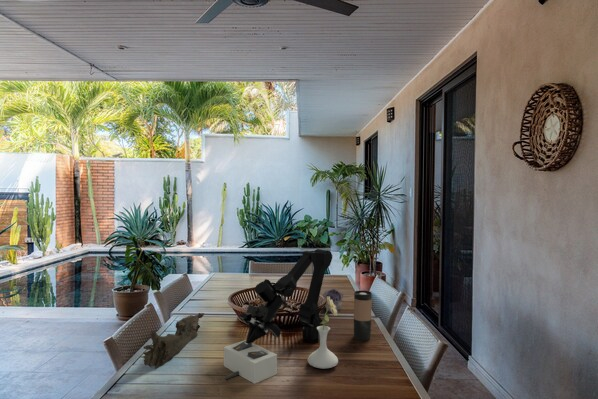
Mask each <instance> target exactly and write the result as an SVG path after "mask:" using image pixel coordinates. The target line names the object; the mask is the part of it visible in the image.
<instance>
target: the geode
mask: <svg viewBox="0 0 598 399" xmlns="http://www.w3.org/2000/svg"><path fill="white" fill-rule="evenodd" d="M322 296H323V298H324V297H325V298H326V299H327V296H328V298H329V297H330V300H331V299H332V300H333V303H334V305H335V306H336V308H335V309H336V310H337V312H338V313H339V312H340V311H341V308H342V302H343V299H344V294H343V293H341V292H339V290H337V289H334V288H332V289H330V290H329V289H326V290H325V291H324V293H323V295H322ZM328 307H329V305H328V302H327V304H326V305H325V307H324V306H323V308H324V309H325V310H326V311H327V309H328ZM327 313H332V312H331V310H330V308H329V309H328V311H327ZM332 314H333V313H332Z"/></svg>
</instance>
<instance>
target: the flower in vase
mask: <svg viewBox="0 0 598 399" xmlns="http://www.w3.org/2000/svg"><path fill="white" fill-rule="evenodd" d="M327 302H328V305H329V307H328V309H329V308H330V310H331V312H332V314H333V316H336V317H337V316H338V314H339V311H338V312H337V310H336V309H335V308H336V306H335V305H334V303H333V300H332V299H331V300H330V297H329V298H328V296H327ZM328 309H327V311H328ZM327 311H326V312H325V313H324V317H323V320H322V322H321V323H320V324H323V326H318V327H317V330H318V331H319V347H318V348H317V349H316V350H314V351H313V352H312V353H310V355H309V356H308V358H307V363H308V364H309V365H310V366H311V367H314V368H317V369H323V370H325V369H330V368H331V369H332V368H334V367H335V366H337V365H338V363H339V359H338V357H337V356H336V354H335V353H334V352H332V351H331V350H329V349H328V347H327V337H328V333H329V331H330V330H331V327H329V326H328V325H327V326H326V325H325V324H327V323H328V322H329V320H330V318H329V315H327V313H328V312H327Z"/></svg>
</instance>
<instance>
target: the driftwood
mask: <svg viewBox="0 0 598 399" xmlns="http://www.w3.org/2000/svg"><path fill="white" fill-rule="evenodd" d="M204 316H205V313H204V312H199V313H198V314H195V315H191V314H190V315H188V316H186V317H184V318H182V319H180V320H178V321H176V323H175V328H176V331H175V333H168V334H166V335H165V336H161V335H158V334H157V333H156V332H155V331H154V330H150V340H152V344H147V345H145V346H143V350H147V351H144V352H142V354H143V355H144V356H143V363H144V364H143V365H145V366H148V367H152V368H153V367H155V368H156V369H157V368H158V367H160V366H164V364H166V363H168V362H169V361H170V360H172V359H173V358H174V357H175V356H176V355H178V354H179V353H180V352H182V351H183V349H184V348H185V346H186V345H187V344H188V343H190V342H191V341H193V340H194V339H196V338H197V337H198V331H199V329H200V328H201V325H199V321H200V319H202V318H203V317H204Z"/></svg>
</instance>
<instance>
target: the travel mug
mask: <svg viewBox="0 0 598 399" xmlns="http://www.w3.org/2000/svg"><path fill="white" fill-rule="evenodd" d="M353 294H354V295H353V296H354V298H353V338H354V340H357V341H362V342H365V341H369V340H371V332H372V329H371V328H372V291H368V290H356V291H354V293H353Z"/></svg>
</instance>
